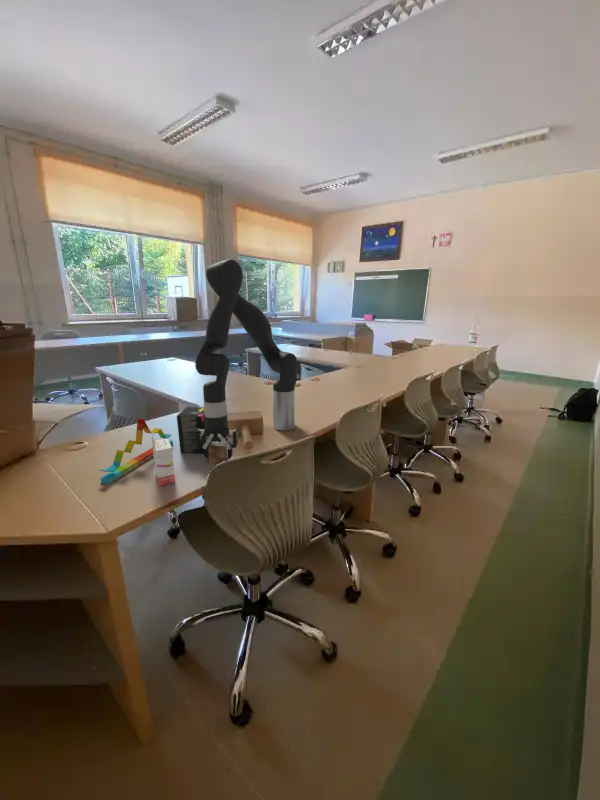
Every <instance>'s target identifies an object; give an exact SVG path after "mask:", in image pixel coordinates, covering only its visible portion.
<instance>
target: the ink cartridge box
mask: <svg viewBox="0 0 600 800" xmlns="http://www.w3.org/2000/svg"><path fill="white" fill-rule="evenodd" d="M169 440H170V439H169V438H167V439H164V438H161V439H157V440H156V439H155V436H154V434H153V433H152V434H151V445H152V447H153V455H154V456H153V463H154V470H155V471H154V473H155V476H156V479H157V481H158V484H159V487H161V486H164V485H169V484H175V483H176V476H175V475H176V474H175V466H174V456H173V447H172V445H170V442H169ZM152 447H151V448H152Z"/></svg>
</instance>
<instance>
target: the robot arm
mask: <svg viewBox="0 0 600 800" xmlns="http://www.w3.org/2000/svg"><path fill="white" fill-rule="evenodd" d="M243 273H244V272H243V269H242V266H241V265H240V263H239V262H238V261H237V260H235V259H233V258H232V259H231V258H229V259H225V260H222V261H219V262H216V263H213V264H211V265H209V266H208V267H207V269H206V272H205V275H206V280H207V282H208V285H209V286H210V287H211V289H212V291H214V293H216V295H217V296H218V297H219V299H218V300H217V302H216V305H215V306H214V308H213V310H212V311H211V314H210V315H209V318H208V321H207V325H206V332H205V337H204V341H203V343H202V345H201V347H200V350H199V351H198V353H197V355H196V358H195V363H194V364H195V365H194V366H195V370H196V372H197V373H198V374H199V375H202V376H215V377H216V379H215V380H213V381H209V382H208V381H207V382H206V383H204V384H203V388H202V391H203V407H204V418H205V429H204V430H201V429H200V428H199V429H198V430H197V431H196V438H197V446H198V447H202V448H203V449H204V453H203V456H204V458H205V459H207V460H208V459H209V447H210V446H209V447H208V444H209V443H210V441H212V442H223V443H224V445H226V447H227V460H230V459H231V458H232V457H233V453H234V452H233V450H234V449H235V448H237V446H238V443H239V435H238V434H239V432H238V431H239V430H238V429H237V428H235V429H230V428H229V421H228V405H227V400H226V399H227V396H226V385H227V378H228V375H229V370H230V367H231V366H230V360H229V358H228V356H227V355H226V354H224V353H215V352H216V351H218V350H222V349H224V348H226V347H227V345H228V339H229V331H230V324H231V320H232V316H233V315H234V317H236V319H237V320H238V322H239V323H240V325H241V326H242V328H243V330H245V332H246V334H247V335H248V336H249V337H250V338H251V340H252V342H253V343H254V344H255V346H256V347H257V348H258V350H259V352H261V354H262V356H263V357H264V360H265V361H266V363H267V365H268V366H269V368H270V370H271V371H273V372H275V373H277V374H279V380H276V381H274V382H273V385H272V394H273V395H272V397H273V399H272V403H273V404H272V405H273V407H272V412H273V414H272V416H273V423H272V424H273V428H274V430H277V431H284V432H285V431H290V430H295V424H296V423H295V421H296V420H295V411H296V409H295V408H296V407H295V401H296V400H295V399H296V398H295V397H296V396H295V391H296V383H297V380H298V379H297V378H298V359H297V357H296V355H295V354H294V353H292V352H288V351H287V352H286V351H282V350H281V349H280V348H279V347H278V345H277V344H276V343H275V341H274V339H273V331H272V325H271V323H270V322H269V320H268V319H267V316H266V315H265V314H264V312H263V310H261V309H260V308H259V307H258V306H256V305H255V304H253V303H252V302H250V301H248V299H245V298H244V297H242V296H241V294H240V290H241V288H242V284H243V280H244V279H243V278H244V276H243V275H244V274H243ZM203 433H205V435H206V436H207V437H208V439H207V441H206V442H205V443H203V439H202V435H203ZM228 435H230V436H231V437H232V441H231V440H230V437H229V436H228ZM233 448H234V449H233Z"/></svg>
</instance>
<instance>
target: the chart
mask: <svg viewBox="0 0 600 800" xmlns="http://www.w3.org/2000/svg"><path fill="white" fill-rule="evenodd" d="M136 423H137V424H136V432H135V440H131V439H129V440H128V441H127V443H126V445H125V448H124V450H121V449H120V450H119V449H117V450H116V453H115V456H114V458H113V459H114V460H113V463H112V464H111V465H110V466H109V467H107V468H105V469H103V468H100V469H98V471H101V472H105V473H106V472H107V473H106V474H104V475H102V476H101V477H100V481H101V483H102V484H107V485H110V484H111V483H113V482H114V481H116V480H118V479H119V478H121V477H122V476H124V475H126V474H128V473H129V472H131V471H132V470H134V469H136V468H137V467H139V466H141V465H142V464H143V463H145V462H147V461H148V460H150V459H152V458H154V455H153V447H151V448H149V449H147V450H146V451H144V452H142V453H140V454H139V455H137V456H135V457H133V458H132V459H130V460H129V461H126V462H125V463H123V464H121V463H122V459H123V456H124V453H128V454H132V451H133V448H134V446H135V445H140V446H142V443H143V434H144V433H145V434H151V435H152V433H153V435H154V434H158V435H159V437H160V438H161V439H167V438H168V440H169V442H170V445H171V446H173V445H174V443H173V442H174V441H173V440H171V439H169V438H170V437H171V436H172V434H170V433H164V431H163V430H162V429H161V428H158V427H154V428H153V429H151V430H150V428H149V426H148V424H147V423H146V420H145V419H142V418H137V422H136Z"/></svg>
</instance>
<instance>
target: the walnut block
mask: <svg viewBox="0 0 600 800" xmlns="http://www.w3.org/2000/svg"><path fill="white" fill-rule="evenodd" d="M227 449H228V448H227V447H226V445H224V443H223V442H217V441H216V442H212V443H211V444H210V446H209V458H208V459H209V465H214V466H216V465H217V464H219V463H221V462H223V461H226V462H227V460H228V452H227ZM217 466H218V465H217Z"/></svg>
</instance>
